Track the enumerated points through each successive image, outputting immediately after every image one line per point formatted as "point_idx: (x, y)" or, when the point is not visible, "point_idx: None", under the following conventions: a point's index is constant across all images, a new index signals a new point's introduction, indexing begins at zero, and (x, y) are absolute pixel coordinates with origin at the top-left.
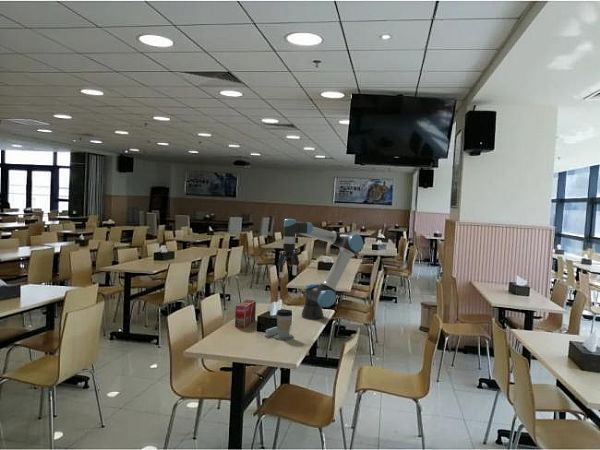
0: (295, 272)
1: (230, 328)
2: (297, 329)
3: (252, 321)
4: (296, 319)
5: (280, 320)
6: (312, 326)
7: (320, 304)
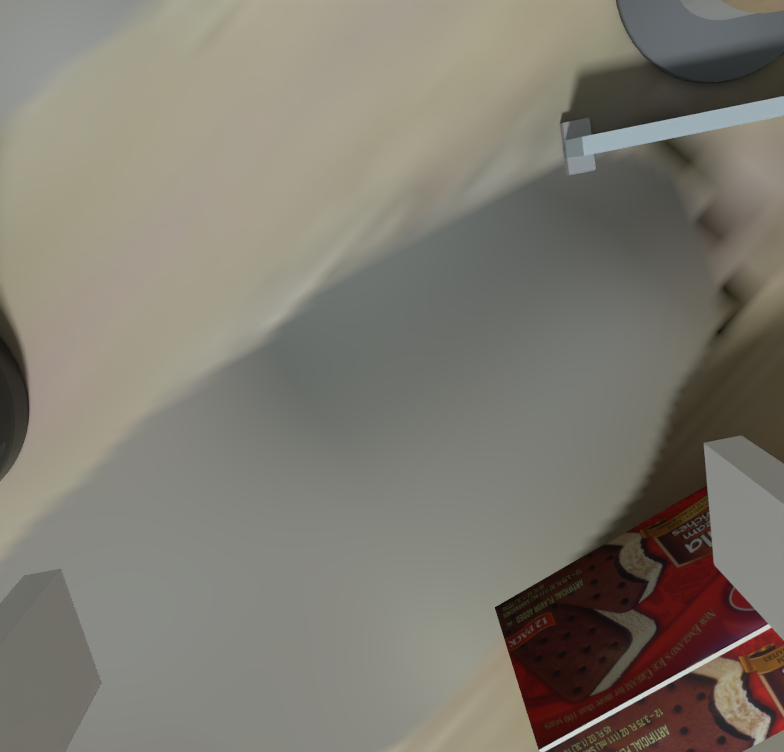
0: (22, 635)
1: None
2: (392, 108)
3: (565, 572)
4: (134, 415)
5: None
6: (173, 97)
7: None
